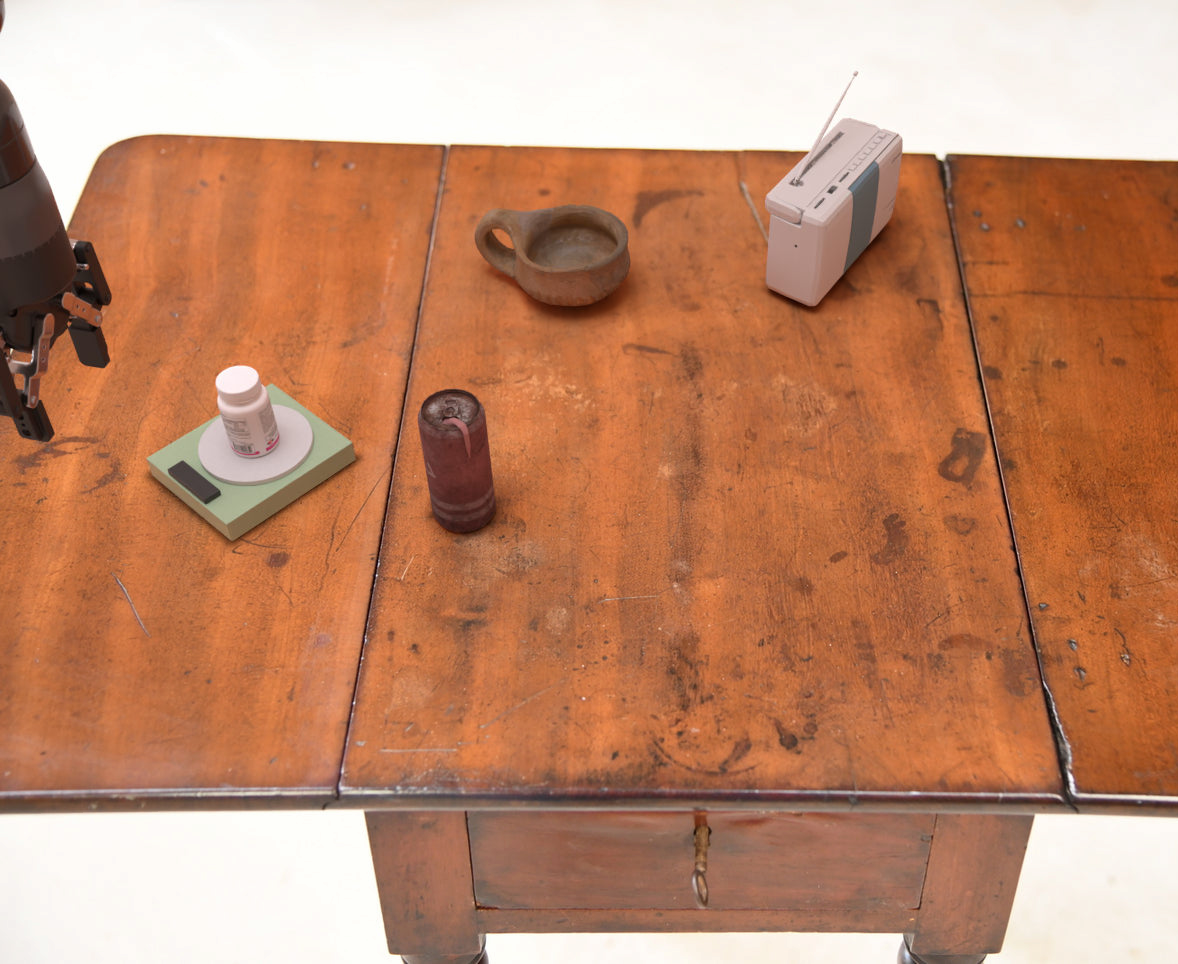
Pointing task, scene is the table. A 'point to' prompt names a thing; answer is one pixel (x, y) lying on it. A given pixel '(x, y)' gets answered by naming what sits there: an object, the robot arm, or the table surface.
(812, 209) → the radio
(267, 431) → the pill bottle
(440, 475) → the can
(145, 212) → the table surface
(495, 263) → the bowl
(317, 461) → the scale
